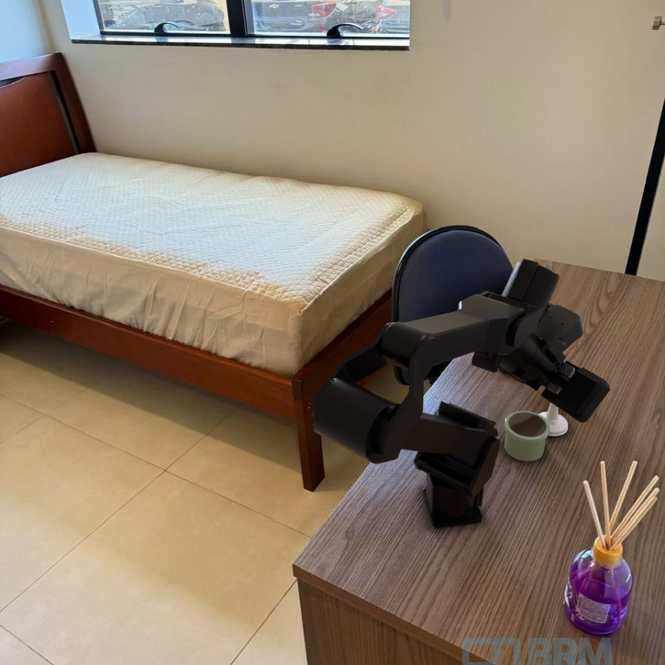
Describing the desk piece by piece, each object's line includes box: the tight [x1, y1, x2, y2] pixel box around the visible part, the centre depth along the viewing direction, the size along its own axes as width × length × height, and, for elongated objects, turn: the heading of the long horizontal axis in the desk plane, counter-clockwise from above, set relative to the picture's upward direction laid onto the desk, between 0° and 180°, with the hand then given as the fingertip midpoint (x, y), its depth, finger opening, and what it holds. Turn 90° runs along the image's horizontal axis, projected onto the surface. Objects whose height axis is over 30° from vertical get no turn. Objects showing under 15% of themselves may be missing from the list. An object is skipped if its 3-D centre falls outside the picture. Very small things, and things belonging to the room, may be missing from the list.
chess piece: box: [538, 402, 569, 437], centre depth 90 cm, size 5×5×10 cm
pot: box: [503, 410, 550, 462], centre depth 88 cm, size 6×6×5 cm
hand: (563, 387), depth 90 cm, fingers closed on chess piece
